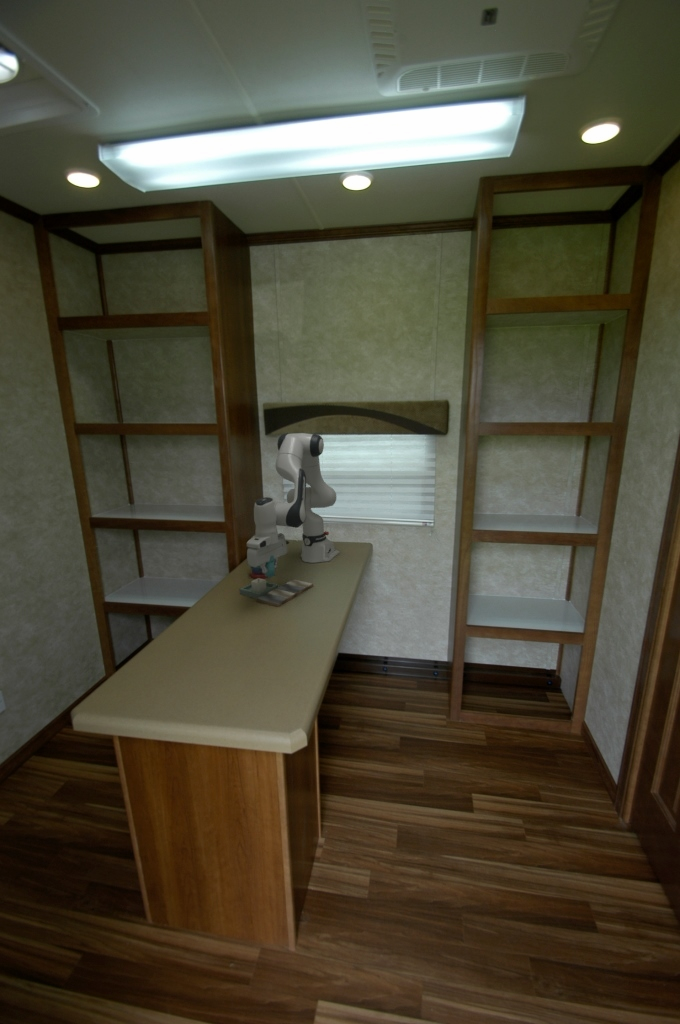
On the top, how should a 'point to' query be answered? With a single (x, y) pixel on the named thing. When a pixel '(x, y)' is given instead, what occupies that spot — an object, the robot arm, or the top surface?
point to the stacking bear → (257, 573)
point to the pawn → (270, 567)
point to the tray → (248, 592)
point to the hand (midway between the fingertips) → (269, 570)
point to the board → (284, 593)
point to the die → (258, 585)
